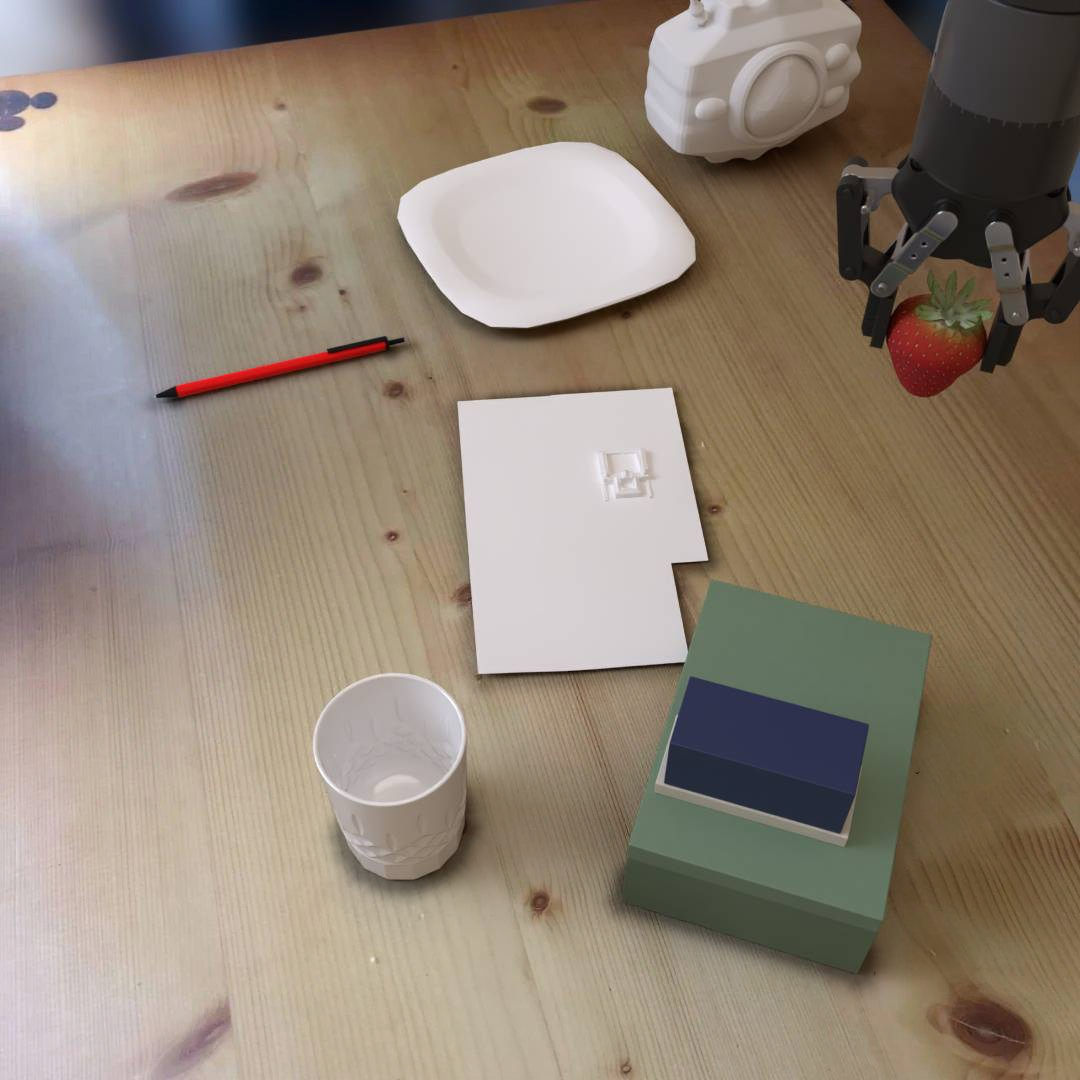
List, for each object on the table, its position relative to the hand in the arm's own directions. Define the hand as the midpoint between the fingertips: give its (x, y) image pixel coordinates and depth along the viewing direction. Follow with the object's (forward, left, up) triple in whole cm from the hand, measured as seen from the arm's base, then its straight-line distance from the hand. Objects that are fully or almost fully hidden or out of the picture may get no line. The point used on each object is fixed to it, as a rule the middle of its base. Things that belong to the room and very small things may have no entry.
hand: (933, 349), depth 72 cm
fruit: (0, 0, -4) cm, 4 cm away
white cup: (+22, +27, -19) cm, 40 cm away
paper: (+19, +2, -19) cm, 27 cm away
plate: (+31, -26, -19) cm, 45 cm away
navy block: (+3, +22, -12) cm, 26 cm away
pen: (+45, -5, -19) cm, 49 cm away
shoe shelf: (+2, +19, -19) cm, 27 cm away
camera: (+18, -44, -19) cm, 51 cm away
